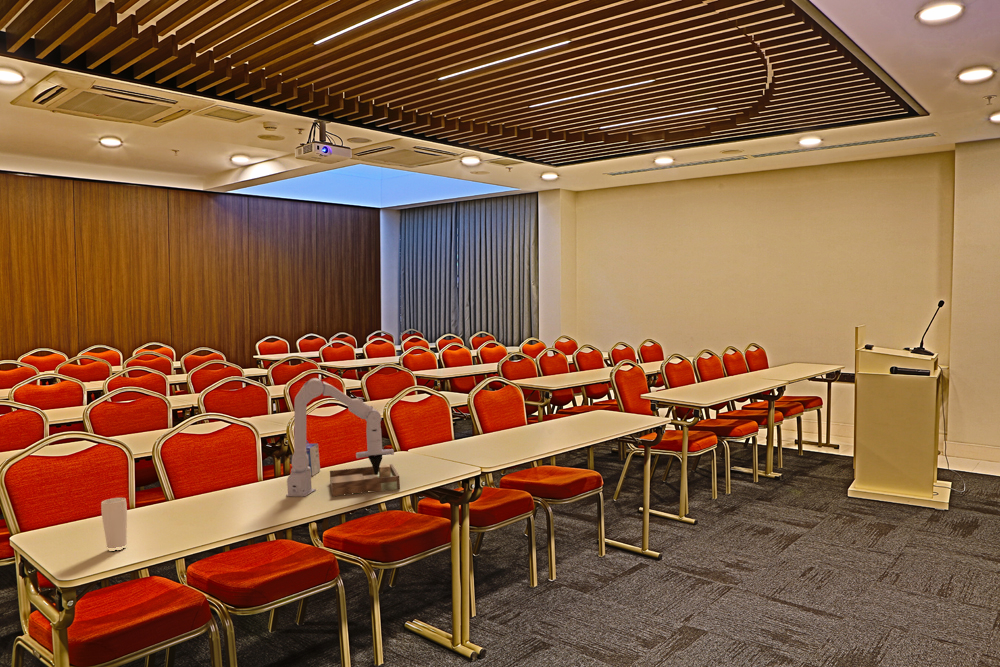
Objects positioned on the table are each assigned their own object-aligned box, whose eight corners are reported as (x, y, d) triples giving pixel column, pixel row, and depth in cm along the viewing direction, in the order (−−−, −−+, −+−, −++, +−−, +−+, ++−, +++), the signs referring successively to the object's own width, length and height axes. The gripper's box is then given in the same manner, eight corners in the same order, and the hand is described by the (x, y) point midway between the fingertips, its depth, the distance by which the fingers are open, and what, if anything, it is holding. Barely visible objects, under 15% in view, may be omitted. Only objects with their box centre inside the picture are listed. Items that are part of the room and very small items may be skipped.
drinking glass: (129, 544, 224) (125, 496, 223) (129, 550, 218) (126, 500, 217) (104, 548, 221) (100, 499, 220) (104, 554, 215) (100, 504, 214)
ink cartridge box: (308, 471, 314) (306, 438, 313) (320, 471, 313) (318, 437, 313) (299, 476, 304) (297, 442, 303) (312, 476, 303) (310, 442, 303)
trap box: (332, 496, 269) (332, 483, 269) (330, 483, 290) (329, 470, 290) (399, 488, 276) (399, 475, 276) (392, 476, 297) (392, 464, 297)
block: (380, 477, 283) (379, 467, 282) (379, 475, 286) (378, 465, 286) (390, 476, 284) (390, 466, 283) (389, 474, 288) (389, 464, 287)
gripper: (391, 436, 289) (393, 470, 290) (354, 440, 285) (356, 474, 286) (393, 439, 283) (395, 474, 283) (356, 443, 279) (358, 478, 279)
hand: (376, 474), depth 284 cm, fingers closed
